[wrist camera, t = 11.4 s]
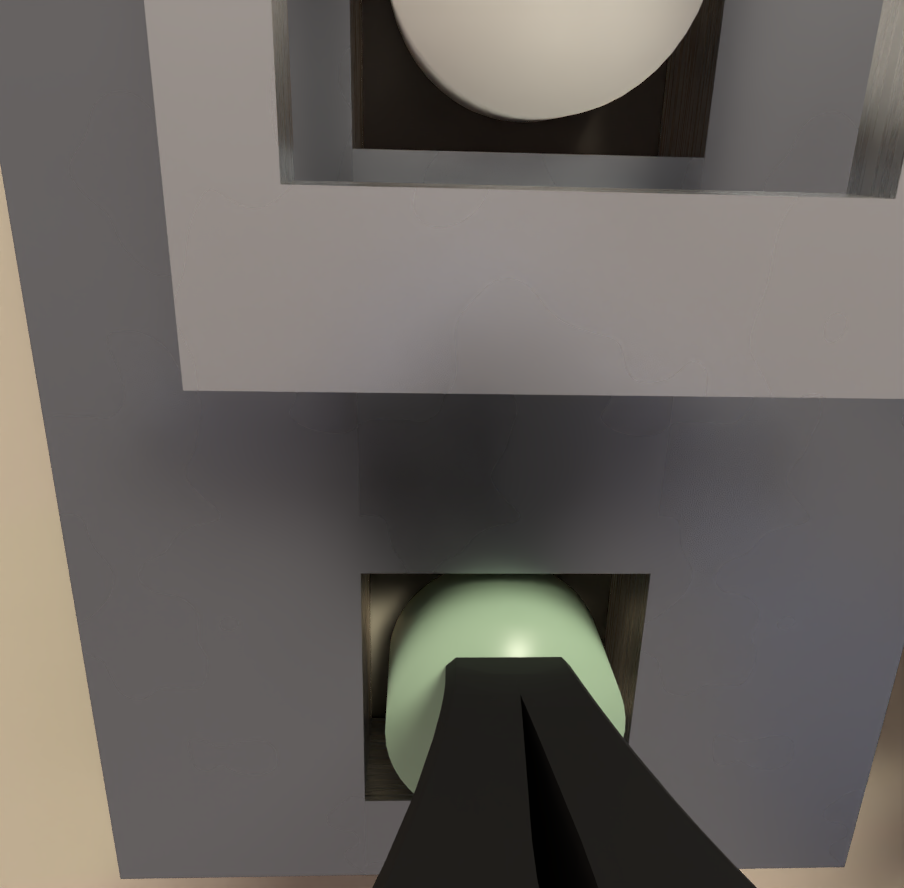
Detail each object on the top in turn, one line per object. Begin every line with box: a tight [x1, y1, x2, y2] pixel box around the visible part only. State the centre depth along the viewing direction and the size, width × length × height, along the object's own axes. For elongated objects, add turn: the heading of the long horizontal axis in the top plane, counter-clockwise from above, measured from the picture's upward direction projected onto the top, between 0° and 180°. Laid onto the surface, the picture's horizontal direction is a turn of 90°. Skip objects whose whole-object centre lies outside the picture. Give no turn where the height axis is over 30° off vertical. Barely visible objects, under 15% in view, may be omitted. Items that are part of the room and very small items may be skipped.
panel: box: [0, 0, 904, 879], centre depth 8 cm, size 14×10×5 cm
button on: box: [385, 574, 625, 793], centre depth 10 cm, size 3×3×2 cm
